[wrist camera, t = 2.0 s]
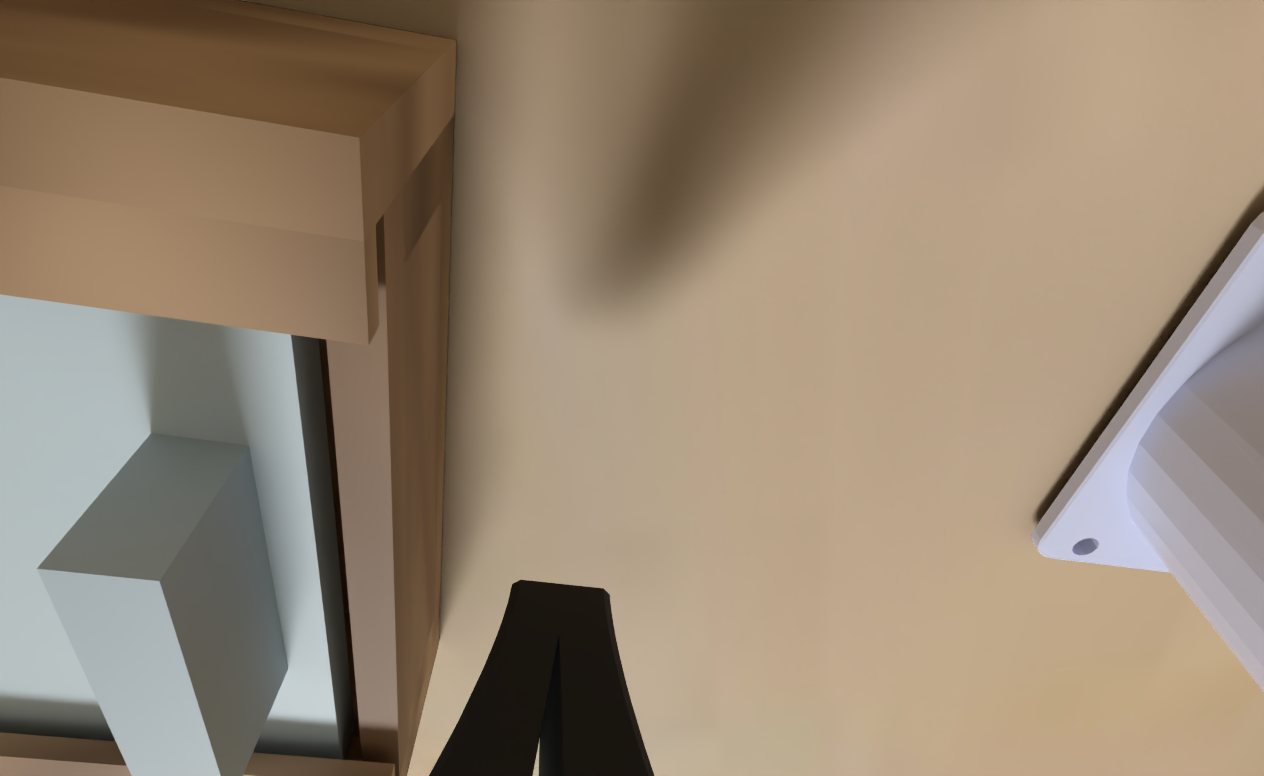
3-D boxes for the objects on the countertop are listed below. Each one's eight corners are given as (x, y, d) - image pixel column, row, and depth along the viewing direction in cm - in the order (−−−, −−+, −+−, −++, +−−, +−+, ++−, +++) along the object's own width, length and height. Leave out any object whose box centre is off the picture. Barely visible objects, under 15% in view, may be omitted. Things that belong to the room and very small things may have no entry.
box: (456, 40, 10) (359, 137, 6) (438, 643, 18) (391, 839, 14) (-355, -109, 9) (-1025, -93, 5) (9, 601, 17) (-161, 801, 13)
